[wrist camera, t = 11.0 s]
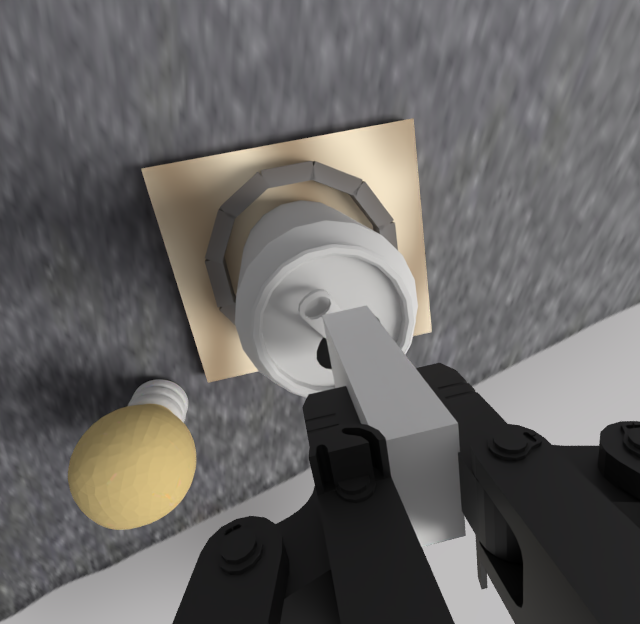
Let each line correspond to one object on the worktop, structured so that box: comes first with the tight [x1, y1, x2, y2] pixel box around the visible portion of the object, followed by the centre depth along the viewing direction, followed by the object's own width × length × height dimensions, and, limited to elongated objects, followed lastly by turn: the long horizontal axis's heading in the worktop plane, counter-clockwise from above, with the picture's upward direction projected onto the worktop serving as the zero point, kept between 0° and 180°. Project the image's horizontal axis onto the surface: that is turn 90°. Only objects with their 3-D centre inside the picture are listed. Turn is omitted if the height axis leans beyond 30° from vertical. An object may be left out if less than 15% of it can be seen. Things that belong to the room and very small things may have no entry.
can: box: [235, 200, 418, 398], centre depth 21 cm, size 8×8×12 cm
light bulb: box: [68, 379, 196, 530], centre depth 25 cm, size 6×6×10 cm
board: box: [141, 119, 432, 382], centre depth 26 cm, size 16×14×3 cm
